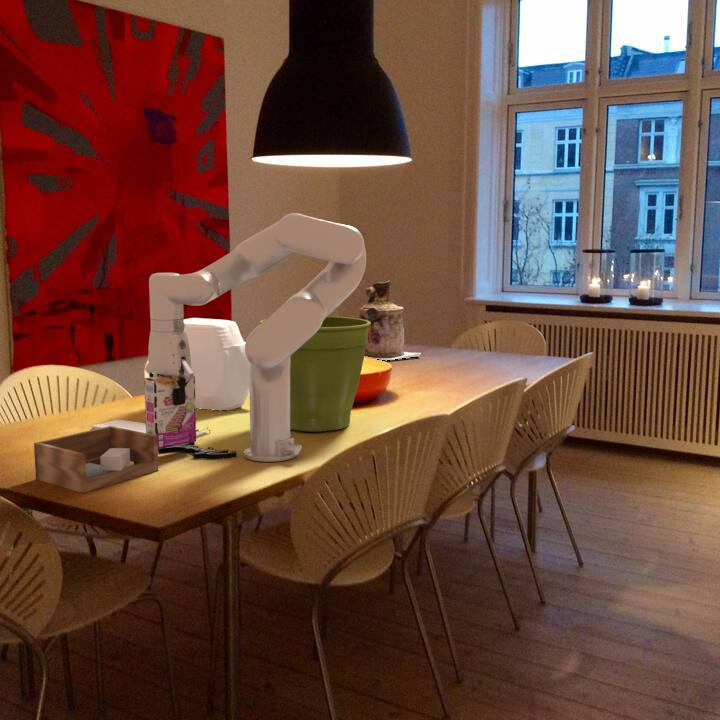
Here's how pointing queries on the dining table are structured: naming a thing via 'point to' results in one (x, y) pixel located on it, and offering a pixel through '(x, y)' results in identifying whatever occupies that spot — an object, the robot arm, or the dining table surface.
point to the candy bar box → (169, 412)
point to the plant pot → (327, 375)
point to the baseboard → (135, 426)
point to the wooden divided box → (93, 457)
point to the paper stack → (218, 363)
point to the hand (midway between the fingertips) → (169, 402)
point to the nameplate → (199, 451)
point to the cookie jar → (383, 325)
